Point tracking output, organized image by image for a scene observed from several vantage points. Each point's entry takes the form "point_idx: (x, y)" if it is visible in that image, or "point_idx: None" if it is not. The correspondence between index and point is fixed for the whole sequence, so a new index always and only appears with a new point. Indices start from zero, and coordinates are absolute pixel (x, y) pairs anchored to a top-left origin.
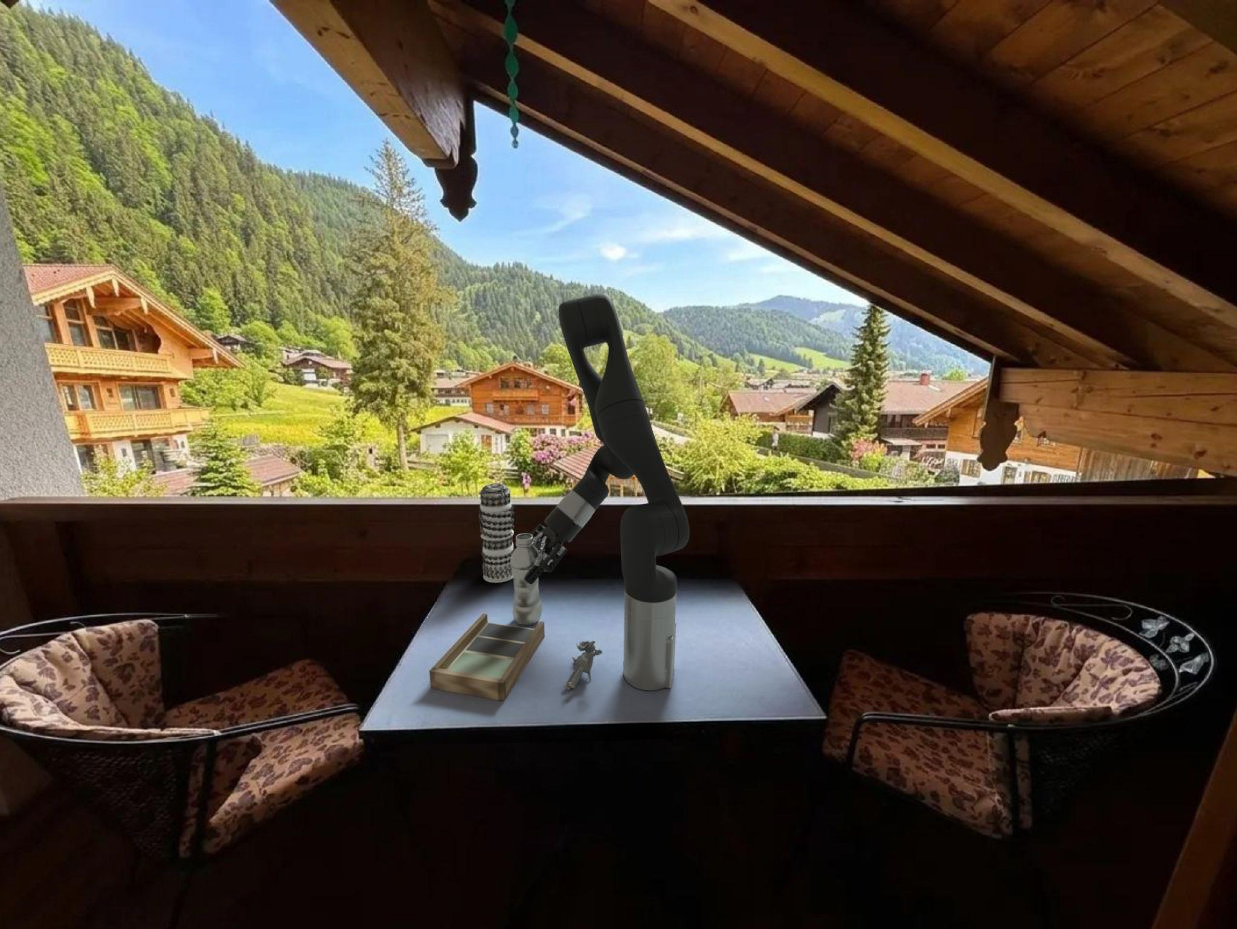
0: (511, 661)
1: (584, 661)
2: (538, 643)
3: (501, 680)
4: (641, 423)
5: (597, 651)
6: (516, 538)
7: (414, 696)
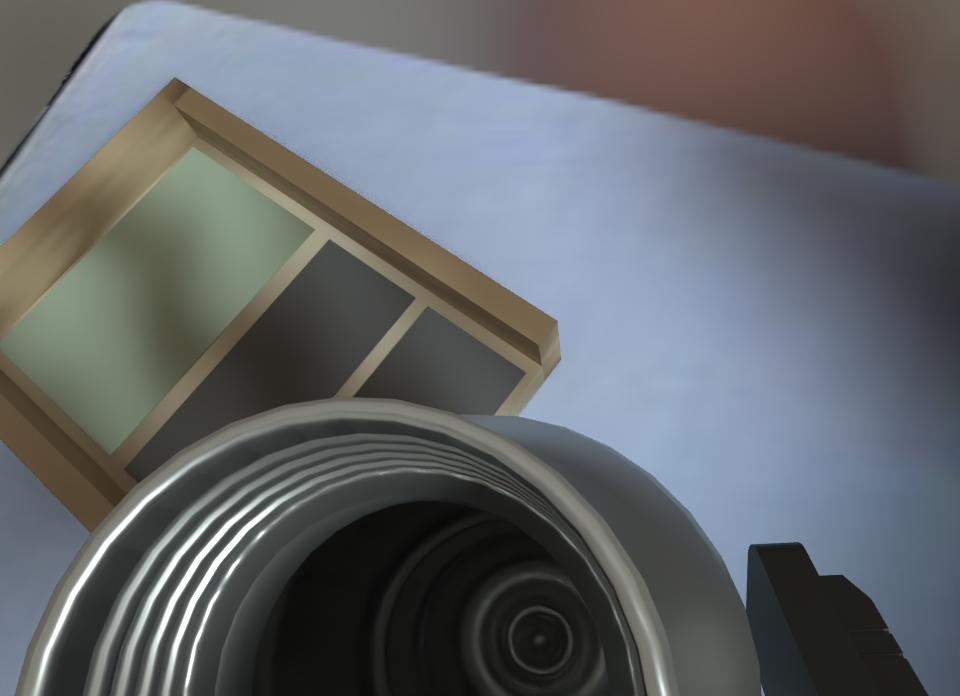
0: (120, 430)
1: None
2: None
3: None
4: None
5: None
6: (318, 403)
7: (205, 88)
